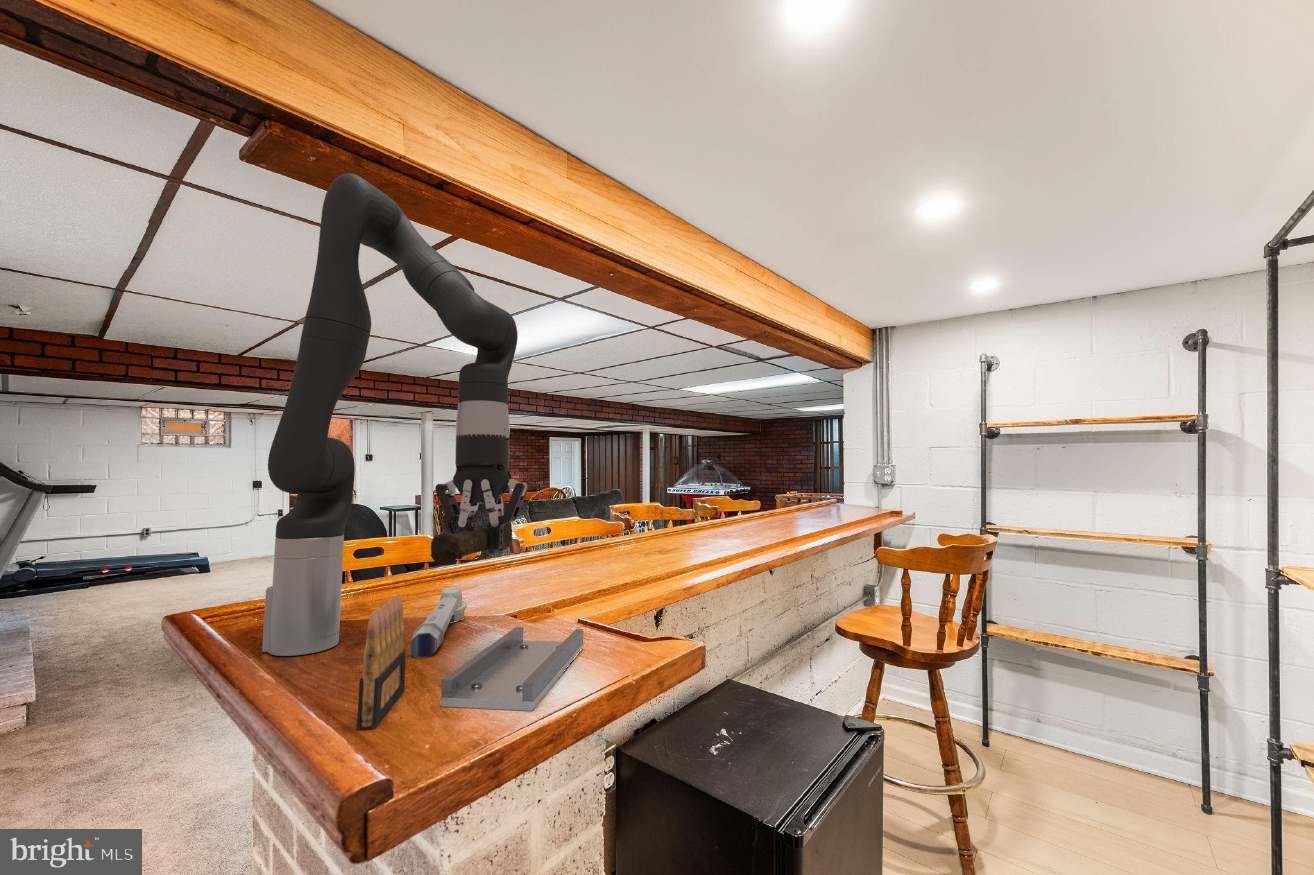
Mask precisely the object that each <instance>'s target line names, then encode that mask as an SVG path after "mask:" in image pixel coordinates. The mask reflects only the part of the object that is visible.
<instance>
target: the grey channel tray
mask: <svg viewBox="0 0 1314 875" xmlns="http://www.w3.org/2000/svg"><path fill="white" fill-rule="evenodd" d="M584 643H585V642H584V629H583V628H575V629H574V631H573V632H571V634H569V635H568V637H566V639H565V640H563V641H558V640H557V641H556V640H555V641H552V640H549V641H548V640H526V639H524V626H521V627H520V626H516V627H514V628H513V629H511V630H510V631H508V632H507V633H505V634H504V635H503V636H501V637H500V638H499V639H498V638H497V640H496V641H494V642H492V643H491V644H490V645H489V646H487V647H486V648H484V649H483V650H482V651H480V652H479V653H477V654H476V655H475V656H473V657H472V658H470V659H469V660H467V661H466V662H464V663H463V664H461V666H458V667H457V668H456V669H455V670H453V671H451V673H449V674H448V675H446V676H445V677H443V678H442V679H441V691H440V692H441V695H440V696H441V697H440V707H444V708H445V707H448V708H465V709H466V708H468V709H485V710H487V709H488V710H507V711H526V712H533V711H534V710H535V709H536V708H537V706H539V704H540V703H541V702H542V700H543V699H544V698H545V697H546V696H547V695H548V693H549V692H550V691H551V690H552V689H553V687H554V686H555V684H556V683H557V682H558V681H559V680H560V678H561V677H562V676H563V675H564V673H565V672H564V670H566V668H567V666H568V665H569V664H570V663H571V661H572V660H573V659H574V657H575V656H576V654H577V653H578V652H579V651H580V649H582V647H583V646H584ZM566 671H567V670H566ZM563 672H564V673H563ZM562 674H563V675H562ZM561 675H562V676H561ZM560 676H561V677H560ZM559 677H560V678H559ZM558 679H559V680H558ZM557 680H558V681H557Z"/></svg>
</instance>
